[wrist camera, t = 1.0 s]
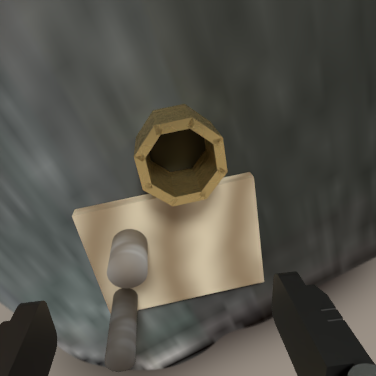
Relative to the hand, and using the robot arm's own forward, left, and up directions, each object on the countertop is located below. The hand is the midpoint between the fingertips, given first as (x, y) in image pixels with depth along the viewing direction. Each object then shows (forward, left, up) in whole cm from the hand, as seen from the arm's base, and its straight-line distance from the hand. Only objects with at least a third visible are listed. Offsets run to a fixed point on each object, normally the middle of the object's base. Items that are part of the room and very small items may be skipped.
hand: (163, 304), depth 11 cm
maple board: (0, +10, -17) cm, 20 cm away
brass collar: (-2, 0, -17) cm, 17 cm away
